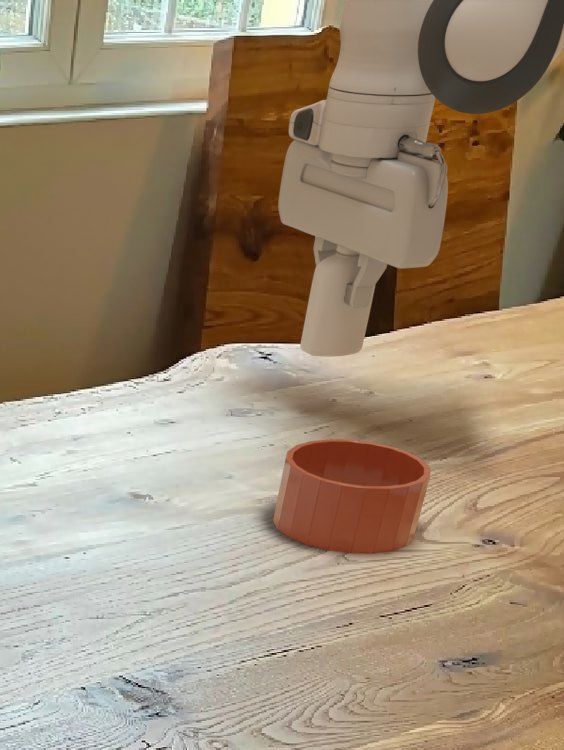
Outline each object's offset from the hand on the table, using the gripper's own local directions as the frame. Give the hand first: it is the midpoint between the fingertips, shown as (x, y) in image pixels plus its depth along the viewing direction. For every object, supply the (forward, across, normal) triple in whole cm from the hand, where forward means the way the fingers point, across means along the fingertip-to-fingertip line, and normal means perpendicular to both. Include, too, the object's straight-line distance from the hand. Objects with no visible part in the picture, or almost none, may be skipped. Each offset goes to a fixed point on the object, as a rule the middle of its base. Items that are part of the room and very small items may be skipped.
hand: (340, 299), depth 135 cm
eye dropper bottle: (+5, 0, 0) cm, 5 cm away
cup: (+10, -29, +16) cm, 35 cm away
